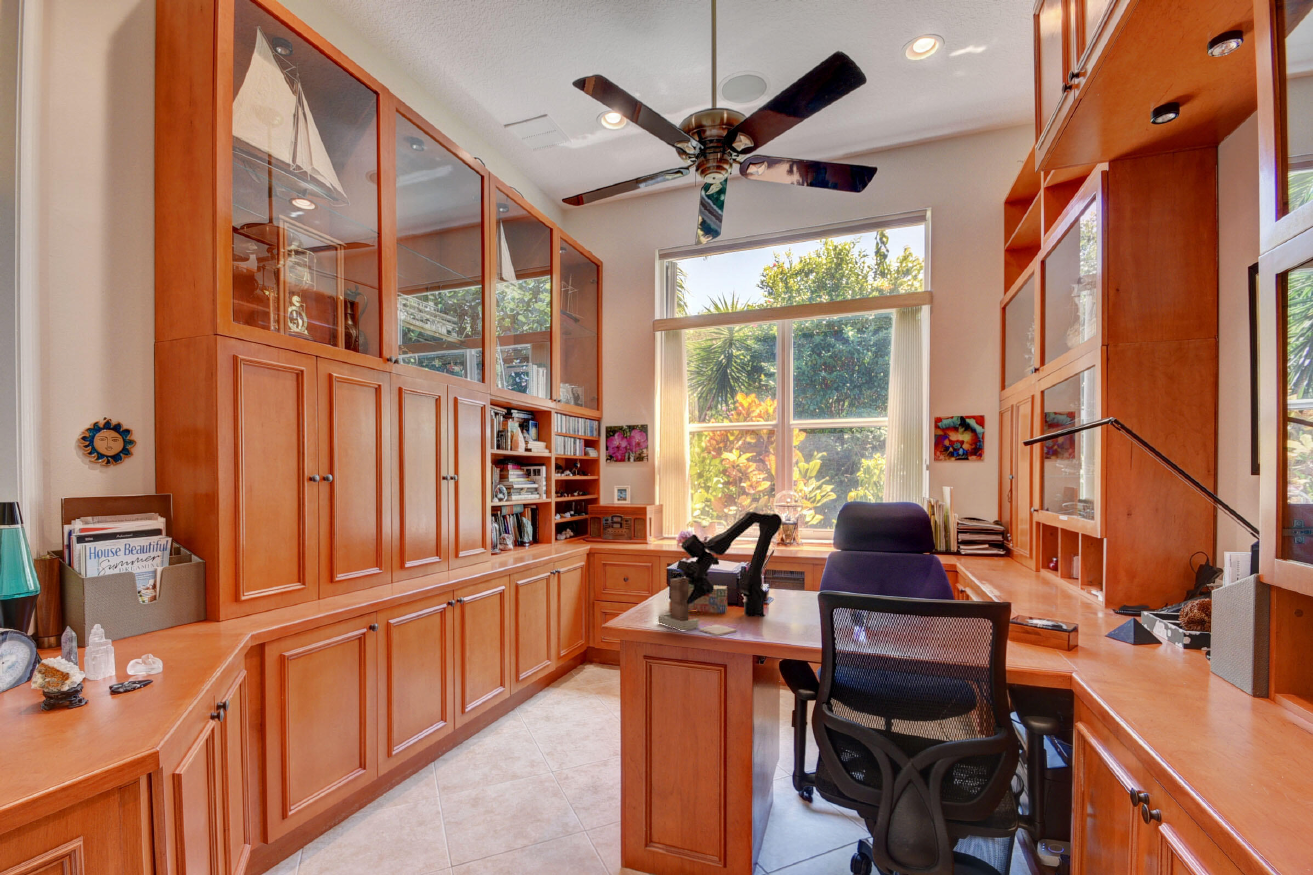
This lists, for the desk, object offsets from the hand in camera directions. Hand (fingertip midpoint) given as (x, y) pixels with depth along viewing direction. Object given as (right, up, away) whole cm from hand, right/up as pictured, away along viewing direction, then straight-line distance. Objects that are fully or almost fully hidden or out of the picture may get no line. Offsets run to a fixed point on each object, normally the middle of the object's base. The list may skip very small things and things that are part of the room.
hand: (678, 601), depth 200 cm
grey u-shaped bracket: (0, -8, 0) cm, 8 cm away
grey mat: (+13, -8, -8) cm, 17 cm away
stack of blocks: (+9, -10, +23) cm, 27 cm away
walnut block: (0, -8, 0) cm, 8 cm away
